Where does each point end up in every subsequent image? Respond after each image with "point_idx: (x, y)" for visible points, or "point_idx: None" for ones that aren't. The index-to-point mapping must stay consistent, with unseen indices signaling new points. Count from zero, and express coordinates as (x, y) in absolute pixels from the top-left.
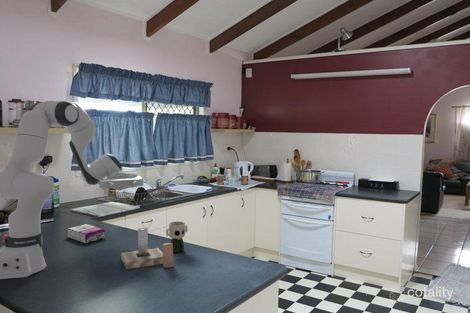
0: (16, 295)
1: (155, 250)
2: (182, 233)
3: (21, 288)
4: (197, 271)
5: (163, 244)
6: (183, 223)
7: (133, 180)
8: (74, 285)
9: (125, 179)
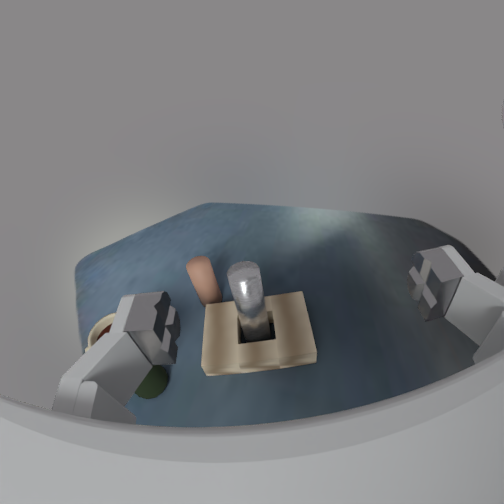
0: (452, 243)
1: (215, 347)
2: None
3: None
4: (174, 271)
5: (207, 264)
6: (93, 333)
7: (85, 419)
8: (388, 257)
9: (240, 455)
